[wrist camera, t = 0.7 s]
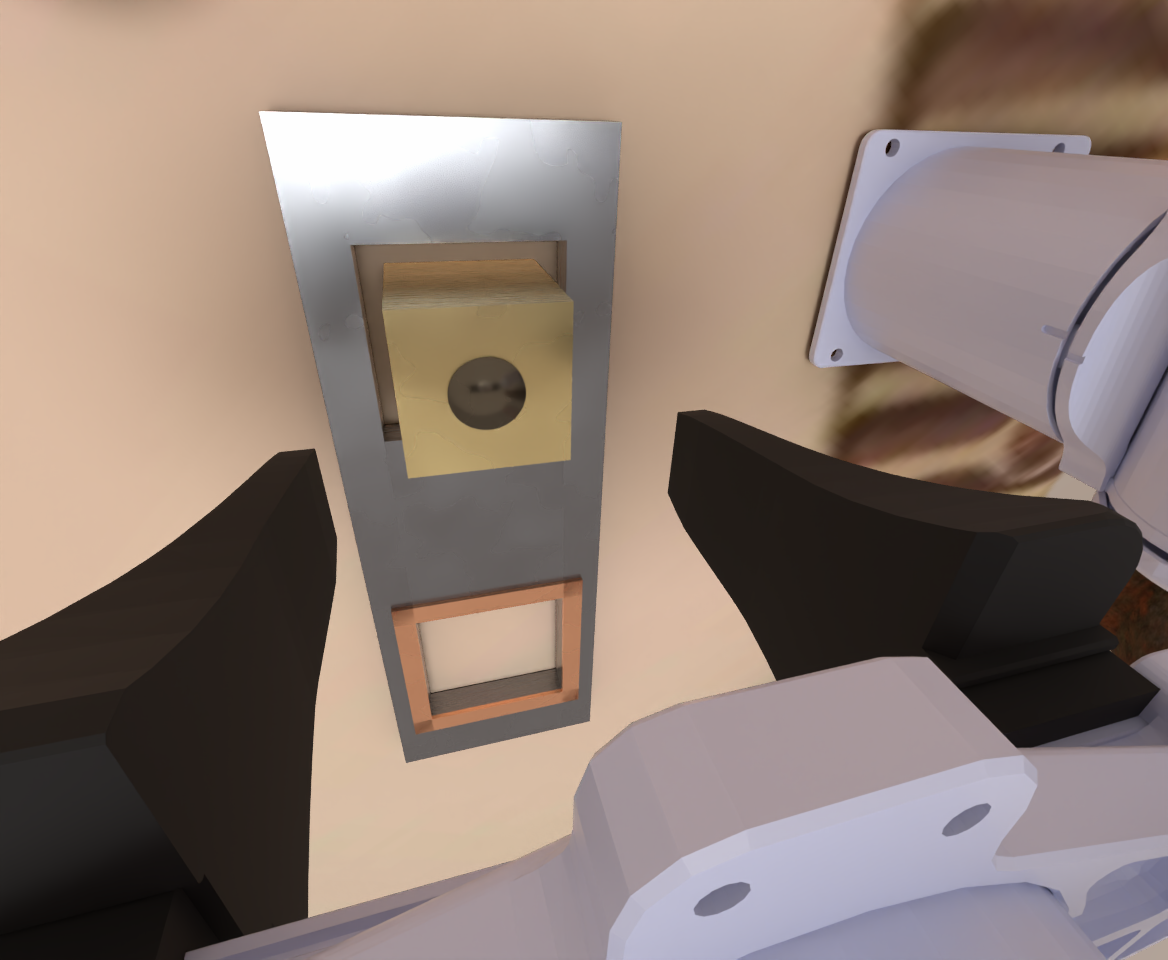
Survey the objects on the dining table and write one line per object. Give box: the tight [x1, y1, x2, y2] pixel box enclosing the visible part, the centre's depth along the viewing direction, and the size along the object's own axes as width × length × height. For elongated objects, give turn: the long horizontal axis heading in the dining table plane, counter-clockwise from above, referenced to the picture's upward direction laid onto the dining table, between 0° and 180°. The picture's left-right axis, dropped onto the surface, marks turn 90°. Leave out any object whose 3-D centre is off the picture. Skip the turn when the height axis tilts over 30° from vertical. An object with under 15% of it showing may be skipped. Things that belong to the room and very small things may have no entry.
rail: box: [259, 111, 622, 763], centre depth 22 cm, size 9×26×1 cm, turn 178°
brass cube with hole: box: [382, 259, 574, 478], centre depth 17 cm, size 4×4×5 cm
